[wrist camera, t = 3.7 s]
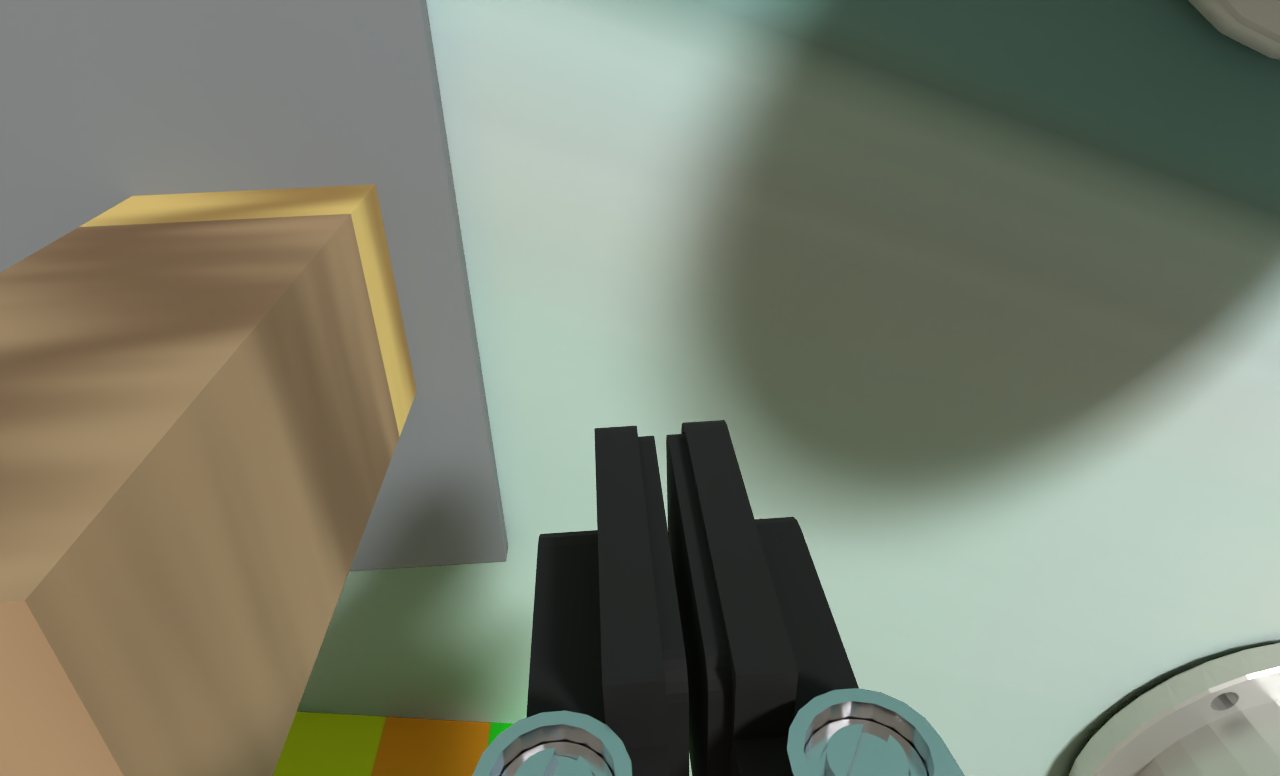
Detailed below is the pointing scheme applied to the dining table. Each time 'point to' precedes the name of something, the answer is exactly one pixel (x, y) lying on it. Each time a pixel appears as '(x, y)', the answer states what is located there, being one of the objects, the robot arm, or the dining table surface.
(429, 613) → the dining table surface
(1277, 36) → the chalice
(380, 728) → the puzzle toy
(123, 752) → the walnut block
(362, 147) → the rubber mat
